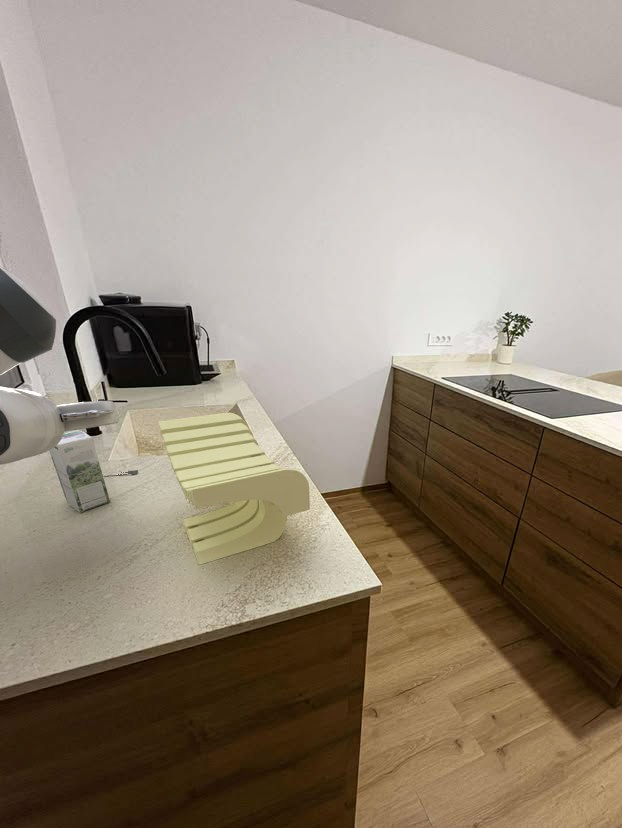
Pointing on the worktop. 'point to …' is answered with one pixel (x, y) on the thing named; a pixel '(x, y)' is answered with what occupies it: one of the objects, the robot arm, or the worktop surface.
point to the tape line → (130, 472)
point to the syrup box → (79, 471)
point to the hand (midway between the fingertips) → (51, 421)
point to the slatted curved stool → (230, 485)
